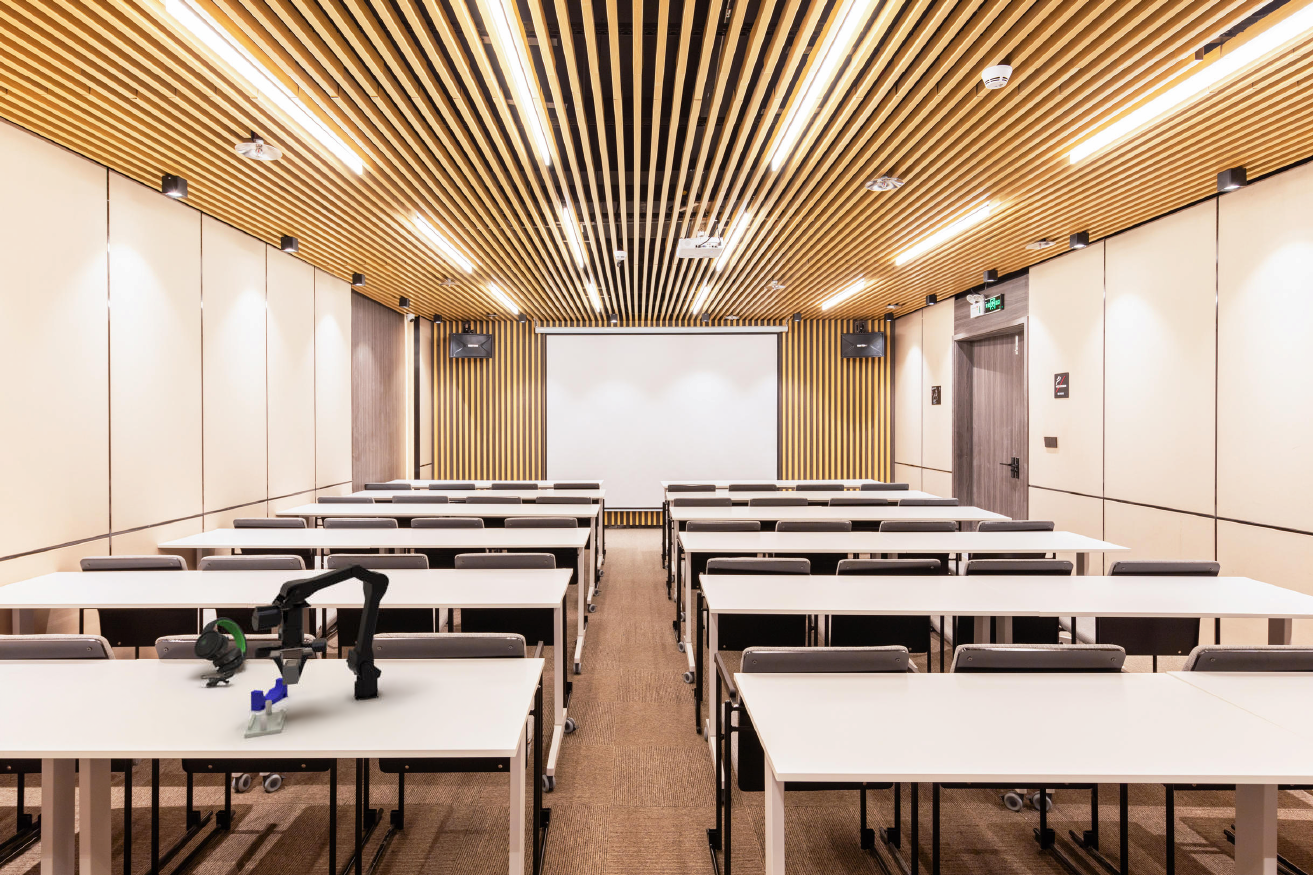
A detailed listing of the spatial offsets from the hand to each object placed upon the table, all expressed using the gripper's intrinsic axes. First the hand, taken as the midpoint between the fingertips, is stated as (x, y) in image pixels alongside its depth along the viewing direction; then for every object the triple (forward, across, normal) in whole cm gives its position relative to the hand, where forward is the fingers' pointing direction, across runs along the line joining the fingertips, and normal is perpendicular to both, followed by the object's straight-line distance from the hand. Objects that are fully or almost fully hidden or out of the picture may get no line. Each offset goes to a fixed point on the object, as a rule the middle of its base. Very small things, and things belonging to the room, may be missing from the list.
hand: (291, 676), depth 206 cm
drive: (+1, 0, 0) cm, 1 cm away
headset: (+12, +24, -49) cm, 56 cm away
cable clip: (+12, +8, -15) cm, 21 cm away
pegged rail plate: (+12, +6, +4) cm, 14 cm away
